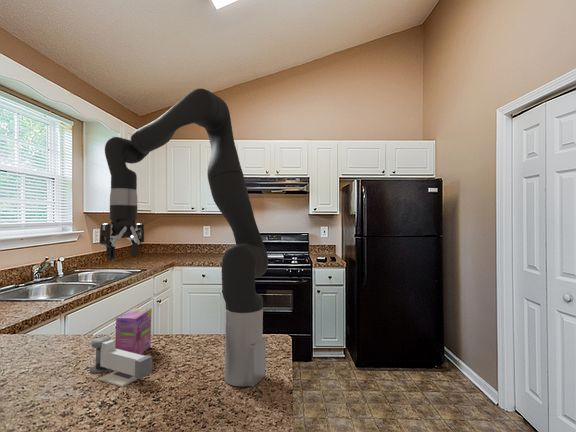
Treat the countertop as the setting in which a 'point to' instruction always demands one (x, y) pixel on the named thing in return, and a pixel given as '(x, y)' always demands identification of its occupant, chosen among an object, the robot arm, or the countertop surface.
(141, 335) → the box
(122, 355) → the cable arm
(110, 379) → the label tile
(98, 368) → the grey pedestal stand
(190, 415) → the countertop surface
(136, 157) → the robot arm
